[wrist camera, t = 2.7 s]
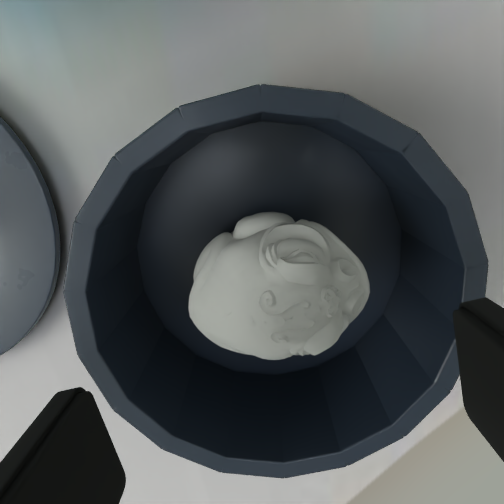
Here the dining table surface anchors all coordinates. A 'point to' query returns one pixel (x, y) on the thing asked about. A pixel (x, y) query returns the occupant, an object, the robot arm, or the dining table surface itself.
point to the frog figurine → (277, 287)
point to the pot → (298, 207)
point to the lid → (24, 241)
